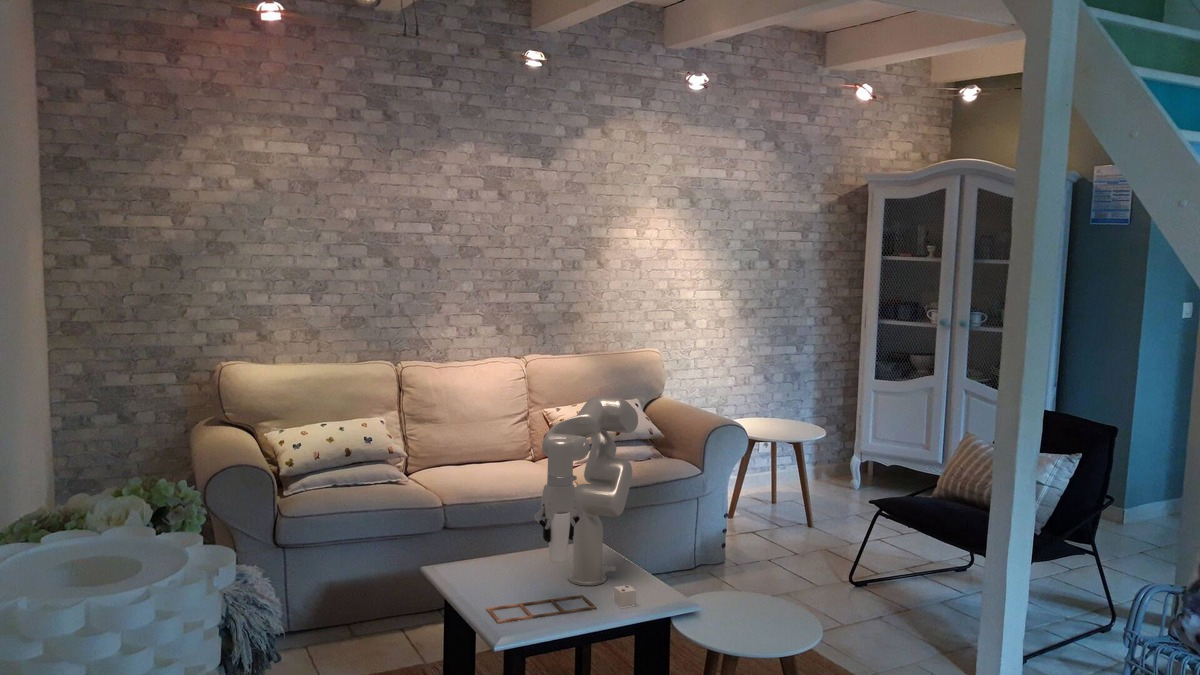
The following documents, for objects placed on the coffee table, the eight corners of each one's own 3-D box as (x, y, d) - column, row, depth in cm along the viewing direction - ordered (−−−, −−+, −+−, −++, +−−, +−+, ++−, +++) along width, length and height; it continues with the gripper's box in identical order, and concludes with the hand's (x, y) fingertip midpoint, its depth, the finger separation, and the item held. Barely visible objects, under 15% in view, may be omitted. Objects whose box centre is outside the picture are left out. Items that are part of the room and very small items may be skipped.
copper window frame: (582, 596, 282) (582, 594, 282) (596, 609, 272) (596, 607, 272) (486, 610, 269) (486, 608, 269) (497, 623, 259) (497, 621, 259)
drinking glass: (546, 557, 274) (547, 508, 273) (568, 557, 275) (569, 508, 274) (547, 564, 267) (548, 514, 266) (570, 564, 268) (571, 514, 267)
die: (628, 600, 280) (628, 584, 279) (635, 606, 275) (636, 589, 275) (613, 602, 278) (614, 586, 277) (620, 608, 273) (621, 592, 273)
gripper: (581, 476, 277) (579, 533, 278) (528, 480, 269) (526, 539, 270) (591, 481, 270) (590, 540, 271) (537, 485, 262) (536, 546, 264)
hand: (558, 539), depth 271 cm, fingers closed on drinking glass, 6 cm apart
